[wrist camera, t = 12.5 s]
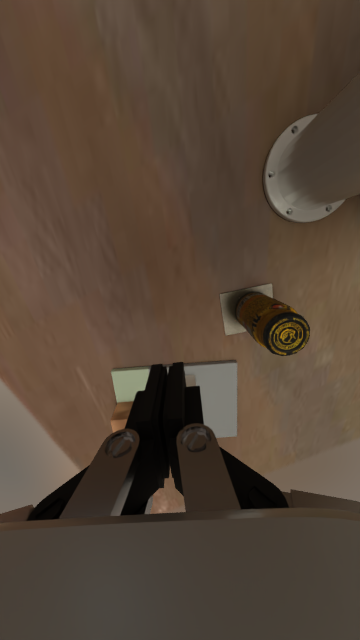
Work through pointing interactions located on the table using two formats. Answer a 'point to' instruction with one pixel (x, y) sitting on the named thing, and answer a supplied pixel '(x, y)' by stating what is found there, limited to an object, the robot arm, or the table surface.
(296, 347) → the condiment
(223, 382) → the channel board
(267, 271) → the table surface
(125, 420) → the block
